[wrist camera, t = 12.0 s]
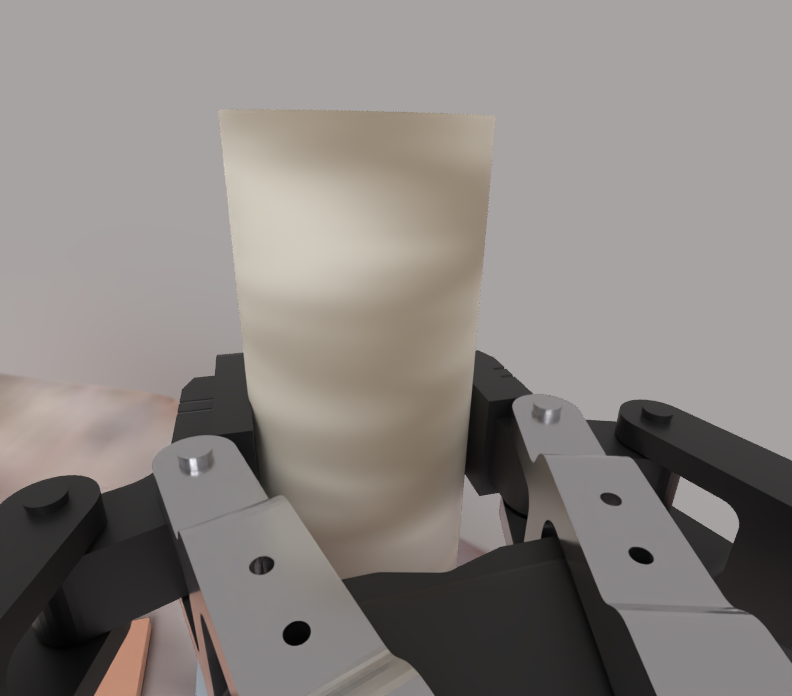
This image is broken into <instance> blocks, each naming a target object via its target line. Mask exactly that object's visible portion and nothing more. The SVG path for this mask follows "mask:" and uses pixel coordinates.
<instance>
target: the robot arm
mask: <svg viewBox="0 0 792 696" xmlns="http://www.w3.org/2000/svg"><path fill="white" fill-rule="evenodd" d="M152 469H153V473H152V474H151V475H149V476H147V477H145V478H144V479H141V480H139V481H137V482H135V483H132V484H129V485H127V486H124V487H121V488H118V489H115V490H112V491H108V492H105V493H102V494H101V492H100V488H99V485H98V484H97V482H96V481H94V480H93V479H91V478H88V477H84V476H77V475H67V476H59V477H54V478H49V479H46V480H42V481H39V482H37V483H34V484H31V485H29V486H27V487H25V488H23V489H21V490H19V491H17V492H16V493H14V494H13V495H11V496H10V497H8V498H7V499H6V500H5V501H4V502H2V503H1V504H0V696H94V695H95V693H96V691H97V689H98V687H99V686H100V684H101V682H102V680H103V678H104V676H105V675H106V673H107V671H108V669H109V667H110V665H111V664H112V662H113V660H114V658H115V656H116V654H117V653H118V651H119V649H120V647H121V645H122V643H123V642H124V640H125V638H126V636H127V634H128V632H129V630H130V628H131V623H132V620H134V619H136V618H138V617H140V616H143V615H145V614H147V613H149V612H151V611H153V610H156V609H158V608H160V607H162V606H164V605H166V604H169V603H171V602H173V601H175V600H177V599H179V600H180V603H181V606H182V610H183V613H184V616H185V619H186V622H187V626H188V629H189V632H190V635H191V639H192V642H193V645H194V648H195V652H196V655H197V658H198V661H199V664H200V668H201V671H202V675H203V678H204V682H205V686H206V690H207V694H208V696H792V461H791V460H789V459H787V458H785V457H782V456H780V455H778V454H776V453H774V452H772V451H769V450H767V449H765V448H763V447H761V446H759V445H756V444H754V443H752V442H750V441H747V440H745V439H743V438H741V437H739V436H737V435H734V434H732V433H730V432H728V431H726V430H724V429H721V428H719V427H717V426H715V425H712V424H710V423H708V422H706V421H704V420H702V419H700V418H697V417H695V416H693V415H691V414H689V413H686V412H684V411H682V410H680V409H678V408H675V407H673V406H670V405H667V404H665V403H661V402H656V401H650V400H632V401H628V402H625V403H623V404H622V405H621V407H620V410H619V414H618V419H617V422H614V421H613V422H612V421H596V420H585V418H584V417H583V415H582V413H581V411H580V410H579V409H578V408H577V407H576V406H575V405H573V404H572V403H570V402H569V401H566V400H564V399H562V398H558V397H555V396H551V395H543V394H533V393H532V392H530V391H529V390H528V389H527V388H526V387H525V386H524V385H523V384H522V383H521V382H520V381H519V380H517V379H516V378H515V377H513V376H512V374H511V373H510V372H509V371H508V370H507V369H504V367H503V365H501V364H500V363H499V362H498V361H497V360H496V359H495V358H493V357H491V356H489V355H487V354H485V353H483V352H480V351H478V350H477V351H475V361H474V372H473V384H472V395H471V407H470V418H469V429H468V441H467V452H466V464H465V475H466V476H467V478H468V479H469V481H470V482H471V484H472V485H473V487H474V489H475V490H476V492H477V493H478V494H479V496H482V495H488V494H494V493H500V495H501V501H500V509H499V515H500V520H501V524H502V529H503V533H504V537H505V542H506V546H503V547H499V548H498V549H495V550H493V551H491V552H489V553H487V554H485V555H482V556H480V557H478V558H476V559H474V560H472V561H470V562H468V563H466V564H464V565H462V566H460V567H457V568H455V569H453V570H451V571H448V572H440V573H437V572H376V573H371V574H366V575H361V576H356V577H351V578H346V579H340V578H339V576H338V575H337V573H336V572H335V570H334V569H333V567H332V566H331V564H330V563H329V561H328V560H327V558H326V557H325V555H324V554H323V552H322V551H321V549H320V548H319V546H318V545H317V543H316V542H315V540H314V539H313V537H312V536H311V534H310V533H309V531H308V530H307V528H306V527H305V525H304V524H303V522H302V521H301V519H300V518H299V516H298V515H297V513H296V512H295V510H294V509H293V507H292V506H291V504H290V503H289V501H288V500H287V499H286V498H285V497H284V496H283V495H277V496H275V497H272V498H268V496H267V495H266V493H265V492H264V490H263V488H262V487H261V485H260V482H259V472H258V463H257V453H256V443H255V433H254V424H253V414H252V405H251V403H250V401H249V397H248V391H247V381H246V372H245V362H244V353H235V354H223V355H217V357H216V369H215V376H208V377H197V378H194V379H192V380H191V382H189V383H188V384H187V385H186V386H185V387H184V388H183V389H182V393H181V398H180V404H179V408H178V414H177V418H176V423H175V428H174V433H173V438H172V443H171V445H169V446H167V447H166V448H164V449H163V450H162V451H160V452H159V453H158V454H157V456H156V457H155V458H154V460H153V464H152ZM680 476H681V477H683V478H685V479H687V480H688V481H690V482H692V483H694V484H696V485H697V486H699V487H701V488H703V489H704V490H706V491H708V492H710V493H712V494H713V495H715V496H717V497H719V498H721V499H722V500H724V501H725V502H727V503H728V504H729V505H730V506H731V507H732V508H733V509H734V511H735V512H736V514H737V516H738V519H739V530H738V532H737V535H736V538H735V541H734V543H731V542H730V541H728V540H726V539H725V538H723V537H722V536H720V535H718V534H717V533H715V532H713V531H712V530H710V529H709V528H707V527H705V526H704V525H702V524H700V523H699V522H697V521H696V520H694V519H692V518H691V517H689V516H687V515H686V514H684V513H683V512H681V511H679V510H678V509H676V508H674V507H673V506H672V503H673V499H674V496H675V493H676V490H677V486H678V483H679V479H680Z"/></svg>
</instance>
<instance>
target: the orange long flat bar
mask: <svg viewBox="0 0 792 696" xmlns="http://www.w3.org/2000/svg"><path fill="white" fill-rule="evenodd" d="M151 629H152V627H151V622H150V618H144V619H139V620H134V621H132V623H131V628H130V630H129V632H128V634H127V636H126V638H125V640H124V642H123V643H122V645H121V647H120V649H119V651H118V653H117V654H116V656H115V658H114V660H113V662H112V664H111V665H110V667H109V669H108V671H107V673H106V675H105V676H104V678H103V680H102V682H101V684H100V686H99V687H98V689H97V691H96V693H95V695H94V696H141V690H142V684H143V678H144V672H145V666H146V660H147V653H148V647H149V641H150V635H151Z"/></svg>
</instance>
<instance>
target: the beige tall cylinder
mask: <svg viewBox="0 0 792 696" xmlns="http://www.w3.org/2000/svg"><path fill="white" fill-rule="evenodd" d="M218 114H219V123H220V133H221V142H222V152H223V162H224V170H225V180H226V190H227V200H228V209H229V219H230V228H231V238H232V248H233V257H234V266H235V276H236V286H237V295H238V305H239V314H240V323H241V334H242V343H243V353H244V362H245V372H246V381H247V391H248V397H249V401H250V403H251V405H252V414H253V424H254V433H255V443H256V453H257V463H258V472H259V482H260V485H261V487H262V488H263V490H264V492H265V493H266V495H267V496H268V498H272V497H275V496H277V495H283V496H284V497H285V498H286V499H287V500H288V501H289V503H290V504H291V506H292V507H293V509H294V510H295V512H296V513H297V515H298V516H299V518H300V519H301V521H302V522H303V524H304V525H305V527H306V528H307V530H308V531H309V533H310V534H311V536H312V537H313V539H314V540H315V542H316V543H317V545H318V546H319V548H320V549H321V551H322V552H323V554H324V555H325V557H326V558H327V560H328V561H329V563H330V564H331V566H332V567H333V569H334V570H335V572H336V573H337V575H338V576H339V578H340V579H346V578H351V577H356V576H361V575H366V574H371V573H376V572H437V573H440V572H448V571H451V570H453V569H455V568H456V567H457V555H458V544H459V531H460V521H461V509H462V498H463V487H464V475H465V464H466V452H467V441H468V429H469V418H470V407H471V395H472V384H473V372H474V361H475V349H476V338H477V326H478V315H479V304H480V292H481V280H482V268H483V257H484V246H485V235H486V223H487V212H488V201H489V188H490V177H491V166H492V155H493V143H494V132H495V120H496V116H489V115H470V114H444V113H413V112H410V113H409V112H377V111H376V112H374V111H332V110H269V109H265V110H264V109H227V110H226V109H225V110H218Z"/></svg>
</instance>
